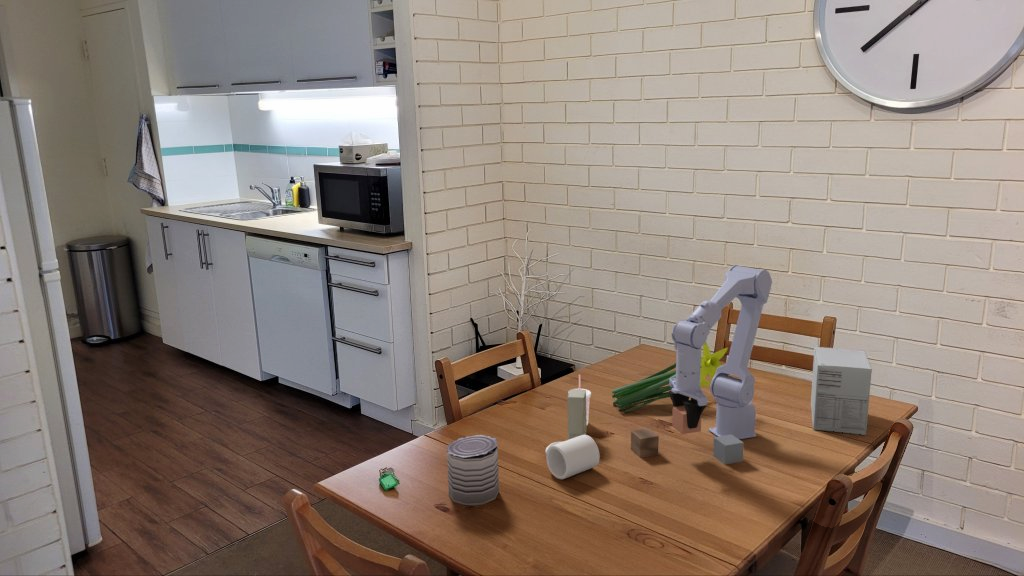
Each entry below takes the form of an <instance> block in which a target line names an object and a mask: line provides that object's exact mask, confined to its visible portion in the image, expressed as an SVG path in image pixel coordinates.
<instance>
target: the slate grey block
mask: <svg viewBox="0 0 1024 576" xmlns="http://www.w3.org/2000/svg"><path fill="white" fill-rule="evenodd" d="M712 447H713V448H712V453H713V454H712V457H714V458H715V459H716V460H718V461H719V462H721V464H723V465H730V464H731V465H732V464H736V463H741V462H742V463H743V460H744V442H743V441H742V439H738V438H736V437H735V436H733V435H732V434H731V435H725V436H719V437H718V436H714V437H713V446H712Z"/></svg>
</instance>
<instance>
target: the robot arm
mask: <svg viewBox="0 0 1024 576" xmlns="http://www.w3.org/2000/svg"><path fill="white" fill-rule="evenodd" d="M772 285H773V279H772V278H771V274H770V272H769V271H768V270H767V269H760V268H759V269H758V268H753V267H748V266H747V267H746V266H741V265H740V266H739V265H736V264H734V265H732V266H730V267H729V268H728V270H727V271H726V272H725V274H724V282H723V284H722V285H721V286H720V287H719V289H718V290H717V291H716V292H715V294H714V295H713V296H712V297H711V299H710V300H704V301H702V302H701V303H700V304H699V305H698V306H697V307H696V308H695V310H694V311H692V313H691V314H690V315H689V316H688V317H687V318H686V319H684V320H680V321H678V322H676V323H675V325H674V326H673V330H672V333H671V338H672V341H673V343H674V350H675V351H676V357H675V358H676V361H675V363H676V367H675V370H676V378H670V379H669V384H668V386H671V387H674V388H672V390H669V391H667V392H668V394H669V396H670V397H669V398H670V400H671V402H672V405H673V406H672V407H678V406H685V409H686V414H687V425H688V428H689V429H691V428H697V426H698V422H699V419H700V416H701V417H702V415H701V414H702V413H703V412H704V410H705V409H706V407H707V406H708V397H707V396H706V394H705V393H704V392H703V390H702V387H700V373H701V358H702V348H703V345H704V344H705V342H707V340H708V336H709V335H710V333H711V329H712V328H713V327H714V326H715V325H717V323H718V321H720V319H721V318H722V310H723V309H724V308H726V306H728V305H729V304H731V302H732V301H733V300H734V299H736V298H737V299H738V300H739V302H740V304H741V306H740V310H739V315H738V317H737V322H736V325H735V330H734V334H733V338H732V341H731V345H730V349H729V354H728V356H727V359H726V363H724V364H721V365H722V366H720V367H718V368H717V370H716V373H715V375H714V377H713V379H711V380H710V382H711V384H710V386H709V389H710V390H709V391H710V393H711V395H712V396H713V397H714V398H713V400H714V401H716V410H715V411H716V413H715V414H716V415H715V427H709V428H708V431H709V432H711V433H712V434H713V435H715V437H719V436H725V435H731V434H732V435H733V436H735V437H736V438H738V439H739V440H744V439H749V438H750V439H751V438H756V437H757V434H756V433H755V431H756V414H757V413H756V408H755V405H754V403H753V402H752V400H753V398H754V394H755V380H756V378H755V377H754V375H753V374H752V373H751V371H750V370H749V368H748V366H749V363H750V359H751V354H752V352H753V347H754V344H755V343H754V342H755V339H756V335H757V332H758V327H759V324H760V320H761V316H762V312H763V307H764V305H765V304H768V300H769V297H770V293H771V289H772ZM730 375H731V376H730ZM736 377H737V378H736Z"/></svg>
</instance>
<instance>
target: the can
mask: <svg viewBox="0 0 1024 576" xmlns="http://www.w3.org/2000/svg"><path fill="white" fill-rule="evenodd" d="M498 446H499V444H498V441H497V438H496V437H494V436H493V437H492V436H488V435H483V434H476V435H470V436H465V437H464V436H463V437H459V438H458V439H456V440H454V441H452V442H451V443H449V444H447V445H446V460H447V461H446V462H447V482H448V483H447V484H448V485H447V487H448V496H449V497H450V498H451V501H453V502H455V503H458V504H461V505H464V506H483V505H485V504H487V503H489V502H492V501H494V500H496V498H497V496H498V494H499V492H500V484H499V483H500V482H499V479H500V478H499V452H498V450H499V448H498Z"/></svg>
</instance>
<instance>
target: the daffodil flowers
mask: <svg viewBox="0 0 1024 576" xmlns="http://www.w3.org/2000/svg"><path fill="white" fill-rule="evenodd" d="M728 349H729V347H724V348H722V349H720V350H718V351H716V352H714V353H711V351H710V348H709V345H708V343H707V341H706V342H705V344H704V345H703V346H702V357H701V373H700V388H702V387H710V384H711V380H712V379H713V377H714V375H715V373H716V370H717V368H718V367H720V366H722V365H723V364H721V363H720V360H721V359H722V358H723V357H724V356H725V354H726V353H727V351H728ZM707 376H709V378H710V379H711V380H710V381H709V380H707V379H705V378H706V377H707ZM670 378H676V362H675V363H673V364H672V365H669V366H668V367H666V368H664V369H662V370H659V371H658V372H655V373H654V374H652V375H649V376H648V377H647V376H646V377H644V378H643V379H640V380H638V381H636V382H633V383H629V384H626V385H623V386H620V387H616V388H614V389H612V390H610V392H611V393H612V395H611V397H612V399H614V401H613V402H612V406H616V407H619V408H618V411H622V410H623V414H627V413H629V412H631V411H634V410H637V409H639V408H642V407H645V406H646V405H649V404H651V403H653V402H656V401H658V400H662V399H667V398H670V396H669V394H668V391H671V390H672V388H674V387H671V386H669V379H670Z"/></svg>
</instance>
